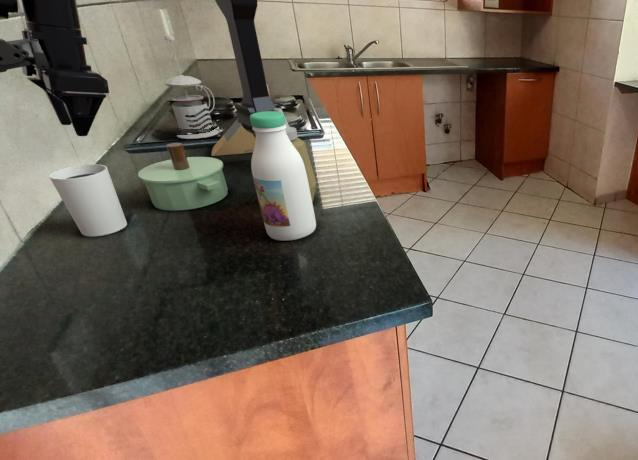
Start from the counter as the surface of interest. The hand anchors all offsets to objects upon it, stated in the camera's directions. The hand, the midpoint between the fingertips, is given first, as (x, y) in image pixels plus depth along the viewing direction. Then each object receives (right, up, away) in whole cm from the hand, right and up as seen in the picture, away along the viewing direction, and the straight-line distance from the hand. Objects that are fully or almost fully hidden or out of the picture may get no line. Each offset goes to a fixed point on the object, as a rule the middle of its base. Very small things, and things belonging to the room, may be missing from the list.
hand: (73, 130), depth 69 cm
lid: (+9, -5, +11) cm, 15 cm away
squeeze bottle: (+29, -11, +14) cm, 34 cm away
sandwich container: (+3, +5, +40) cm, 41 cm away
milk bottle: (+34, -17, +4) cm, 38 cm away
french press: (-15, +11, +50) cm, 53 cm away
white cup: (+4, -16, +2) cm, 17 cm away
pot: (+9, -10, +14) cm, 19 cm away
